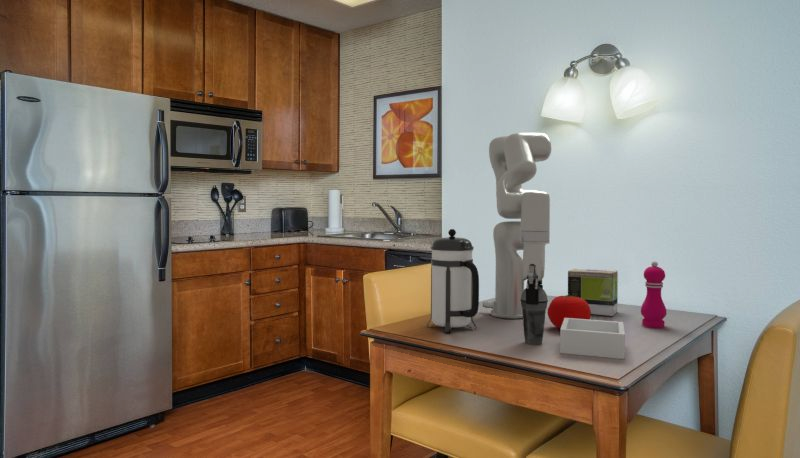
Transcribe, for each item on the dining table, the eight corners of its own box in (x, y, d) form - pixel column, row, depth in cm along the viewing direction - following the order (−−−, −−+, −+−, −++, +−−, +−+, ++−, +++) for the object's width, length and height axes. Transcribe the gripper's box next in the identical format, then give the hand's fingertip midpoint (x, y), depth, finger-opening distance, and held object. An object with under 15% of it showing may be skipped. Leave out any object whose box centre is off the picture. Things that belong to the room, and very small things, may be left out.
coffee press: (419, 332, 158) (419, 229, 156) (434, 321, 173) (435, 227, 171) (477, 337, 152) (478, 230, 150) (488, 325, 167) (489, 228, 165)
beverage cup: (516, 339, 150) (517, 267, 149) (541, 339, 150) (542, 267, 149) (524, 346, 142) (525, 270, 141) (551, 345, 143) (552, 270, 142)
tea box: (617, 312, 188) (618, 269, 188) (612, 317, 180) (613, 272, 179) (573, 307, 196) (574, 267, 195) (566, 312, 188) (567, 270, 187)
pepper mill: (669, 329, 162) (670, 262, 162) (643, 328, 164) (644, 262, 163) (662, 323, 170) (664, 260, 169) (637, 322, 171) (639, 259, 170)
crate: (560, 353, 136) (560, 329, 136) (564, 339, 150) (564, 317, 150) (624, 359, 131) (625, 334, 131) (622, 344, 145) (623, 322, 145)
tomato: (540, 326, 165) (541, 292, 165) (573, 323, 169) (574, 290, 169) (564, 335, 155) (564, 298, 154) (598, 331, 159) (599, 296, 158)
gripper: (525, 236, 154) (524, 296, 155) (515, 238, 138) (515, 305, 138) (552, 237, 152) (551, 297, 152) (546, 239, 135) (545, 307, 136)
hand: (534, 301), depth 145 cm, fingers open, 9 cm apart
